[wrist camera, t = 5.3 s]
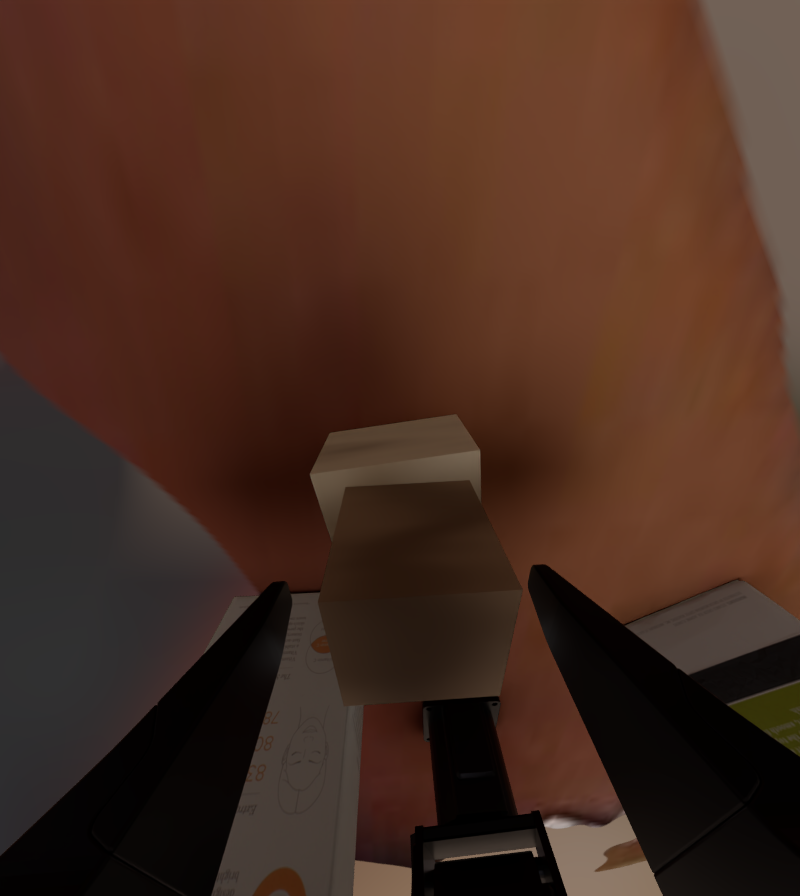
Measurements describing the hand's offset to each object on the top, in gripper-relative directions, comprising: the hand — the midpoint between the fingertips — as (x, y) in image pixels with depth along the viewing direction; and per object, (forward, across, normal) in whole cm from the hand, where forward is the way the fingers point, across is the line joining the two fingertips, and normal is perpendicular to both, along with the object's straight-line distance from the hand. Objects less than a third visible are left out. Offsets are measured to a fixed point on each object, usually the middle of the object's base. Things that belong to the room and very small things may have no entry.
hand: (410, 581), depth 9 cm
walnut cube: (+2, 0, 0) cm, 3 cm away
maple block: (+6, 0, 0) cm, 6 cm away
